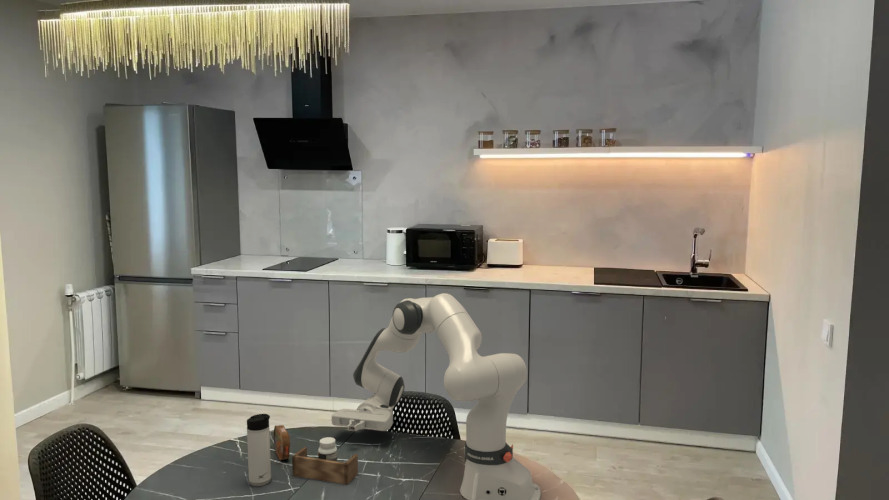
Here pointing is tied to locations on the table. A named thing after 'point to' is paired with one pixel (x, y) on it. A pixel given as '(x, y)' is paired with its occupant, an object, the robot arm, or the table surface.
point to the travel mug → (259, 450)
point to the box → (324, 468)
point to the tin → (281, 442)
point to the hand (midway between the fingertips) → (351, 428)
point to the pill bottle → (327, 449)
